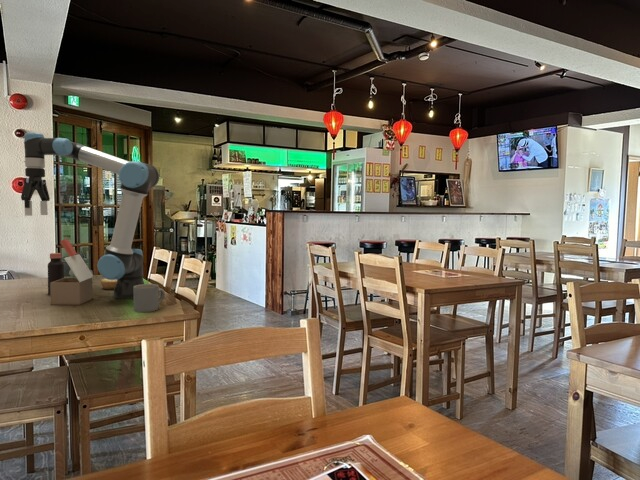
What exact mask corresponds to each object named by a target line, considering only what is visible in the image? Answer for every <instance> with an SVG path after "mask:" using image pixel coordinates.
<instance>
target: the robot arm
mask: <svg viewBox="0 0 640 480" xmlns="http://www.w3.org/2000/svg"><path fill="white" fill-rule="evenodd" d="M23 144H24V166H25V169H24V170H25V172H24V173H25V177H24V181H23V182H24V183H23V184H24V185H23V187H22V192H21V195H20V199H21V201H24V216H28V217H30V216H33V201H32V198H33V196H34V192H35V190H36V191H37V195H38V197H39V198H40V201H39V202H40V205H39V207H40V216H48V215H49V213H48V202H50V199H51V197H50V193H49V190H48V188H47V187H48V185H47V181H46V179H43V178H45V177H46V169H45V168H46V162H45V161H46V159H45V156H60V157H65V158H70V159H73V160H75V161H76V160H77V161H78V162H83V163H85V164H88V165H91V166H94V167H96V168H99V169H102V170H104V171H107V172H111V173H113V174H116V175H118V178H119V180H120V183H121V184H120V188H119V189H120V191H121V192H122V196H121V199H120V202H119V203H120V204H119V207H118V211H117V216H116V221H115V225H114V229H113V233H112V236H111V241H110V244H108V245H107V246H106V247H105V251H104V255H102V256H101V257H100V258H99V259H98V261H97V264H96V265H97V270H98V273H99V274H100V276H102V278H103V279H105V278H106V279H108V280H117V283H116V286H115V289H114V290H113V293H112V294H113V298H115V299H123V300H124V299H134V295H133V287H134V286H136V285H141V284H146V283H145V280H144V264H143V263H144V255H143V253H144V252H143V250H142V249H140V248H132V245H133V240H134V236H135V233H136V228H137V224H138V222H139V221H138V220H139V216H140V212H141V208H142V204H143V199H144V198H145V197H147V196H148V195H149V192H150V191H149V190H150V189H152V188H154V187H156V186H157V185H158V183H159V181H160V173H159V170H158V169H157V168H156V166H154V165H152V164H150V163H144V162H141V161H137V160H134V161H129V160H126V159H123V158H120V157H118V156H115V155H113V154H109V153H107V152H103V151H100V150H98V149H95V148H92V147H89V146H85V145H83V144H81V143H80V142H79V143H78V142H76V141H75V142H73V141H71V140H70V139H68V138H66V137H65V138H64V137H45V136H44V134H42V133H39V132H26V133H25V134H24V139H23Z"/></svg>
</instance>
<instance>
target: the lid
mask: <svg viewBox="0 0 640 480" xmlns="http://www.w3.org/2000/svg"><path fill="white" fill-rule="evenodd" d="M60 244H61V246H62V247H63V249H64V250H65V252H66V254H67V255H68V256H66V257H64V260H65V262H66V263H67V265H68V266H69V268H70V270H72V271H73V273H74V274H75V276H76V278H77V279H78V281H79V282H82V281H84V280H87V279H89V278H92V279H93V278H94V276H95V275H94V274H92V273H91V271H90V270H91V269H89V266H88V265H87V264H86V262H85V261H84V259H83V257H82V256H81V254H80V253H79V254H78V252H76V249H75V248H74V246H73V245H72V243H71V241H70V240H69V239H68V238H64V239H62V240H60Z"/></svg>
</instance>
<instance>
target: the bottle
mask: <svg viewBox="0 0 640 480" xmlns="http://www.w3.org/2000/svg"><path fill="white" fill-rule="evenodd" d="M49 259H50V260H49V262H48V263H47V295H48V296H51V293H50V283H51V282H54V281H56V280H59V279H62V278H65V263H64V262H63V261H62V253H61V252H51V253H49Z"/></svg>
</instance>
